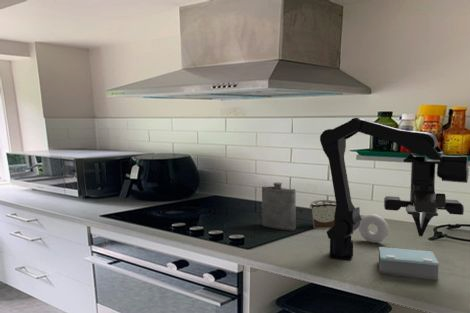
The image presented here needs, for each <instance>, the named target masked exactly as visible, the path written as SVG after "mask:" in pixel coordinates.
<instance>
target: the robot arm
mask: <svg viewBox="0 0 470 313" xmlns="http://www.w3.org/2000/svg"><path fill="white" fill-rule="evenodd" d="M358 133H360V134H363V135H367V136H371V137H374V138H379V139H382V140H385V141H388V142H392V143H395V144H397V145H399V146H401V147H403V149H406V150H407V151H409V152H411V153H409V155H407V157H406V158H404V159H403V162H404V163H411V165H410V166H411V167H410V168H411V169H410V170H411V172H410V194H409V196H410V197H409V200H406V199H405V200H403V199H402V200H401V198H400V196H390V195H389V196H388V195H386V196H385V197H384V198H383V207H384V210H387V211H394V212H395V211H399V210H400V209H401V208H405V212H406V213H407V215H411V218H412V219H413V221H414V225H415V228H416V231H417V234H418V236H419V237H423V235H424V233H425V232H426V229H427V227H428V225H429V223H430V221H431V220H432V218H433V217H438V216H439V213H438V211H440V210H442V211H443V210H444V211H446V212H448V213H449V215H460V216H461V215H464V211H465V207H464V205H463V204H462V203H461V202H460V201H459V200H458V199H447V198H446V197H447V196H446V194H445V193H439V192H437V193H436V192H435V191H436V190H435V184H436V181H435V180H436V176H437V177H438V178H439V179H441V181H442V182H449V183H452V182H453V183H464V184H467V183H468V181H469V173H470V172H469V171H470V170H469V169H470V168H469V156H468V155H446V154H445V153H444V151H443V150H442V149H441V148H440V146H439V142H438V138H437V137H436V135H434V134H433V133H431V132H426V131H418V130H417V131H416V130H405V129H400V128H395V127H392V126H389V125H386V124H382V123H377V122H375V121H369V120H367V119H364V118H362V117H354V118H352V119H350V120H348V121H347V122H345V123H343V124H341V125H339V126H336V127H334V128H327V129H325V130H324V131H323V132H321V133H320V136H319V141H320V145H321V147H322V150H323V152H324V154H325V155H326V158H327V159H328V162H329V163H328V165H329V170H330V174H331V181H332V187H333V193H334V194H333V195H334V198H335V200H334V201H336V209H335V214H334V226H333V227H332V228H328V230H327V231H326V235H327V237H328V239H329V254H328V258H329V259H337V260H348V261H350V260H352V257H353V256H354V240H352V235H353V234H354V232H355V231H356V230H357V229H359V225H360V221H361V220H362V219H361V218H362V217H361V213H360V211H361V209H360V207H355V205H354V204H353V201H352V197H351V191H350V184H349V180H348V179H349V178H348V173H347V169H346V168H347V167H346V162H345V152H346V148H347V146H346V145H347V143H346V142H347V140H348V139H350V138H352V137H353V136H355V135H356V134H358ZM412 152H413V153H412ZM415 154H416V155H417V156H416V155H415ZM428 158H429V159H428ZM436 166H437V168H436Z"/></svg>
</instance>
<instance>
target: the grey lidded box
mask: <svg viewBox="0 0 470 313" xmlns="http://www.w3.org/2000/svg"><path fill="white" fill-rule="evenodd" d="M378 267H379V274H380V275H388V276H389V275H390V276H396V277H397V276H398V277H407V278H416V279H424V280H433V281H434V280H435V281H438V280H439V266H438V265H428V264H418V263H408V262H397V261H387V260H381V258H380V252H379V251H378Z"/></svg>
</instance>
